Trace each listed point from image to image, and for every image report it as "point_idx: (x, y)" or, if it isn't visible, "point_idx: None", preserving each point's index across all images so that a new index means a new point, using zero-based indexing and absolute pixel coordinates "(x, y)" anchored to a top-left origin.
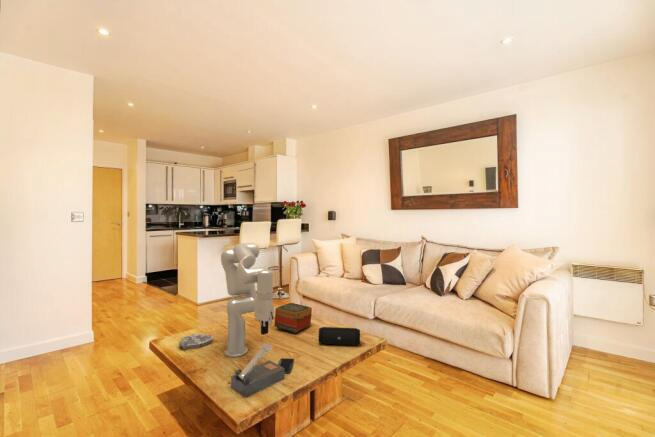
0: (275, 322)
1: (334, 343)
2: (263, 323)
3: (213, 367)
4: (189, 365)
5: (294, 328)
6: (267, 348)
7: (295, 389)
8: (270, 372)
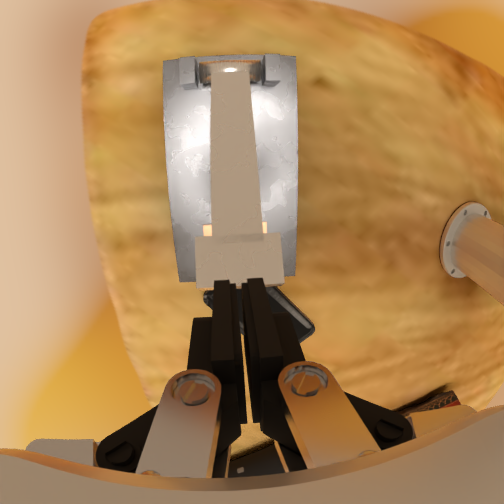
0: (454, 399)
1: (253, 453)
2: (205, 423)
3: (448, 120)
4: (490, 89)
5: None
6: (203, 254)
7: (99, 246)
8: (188, 212)
